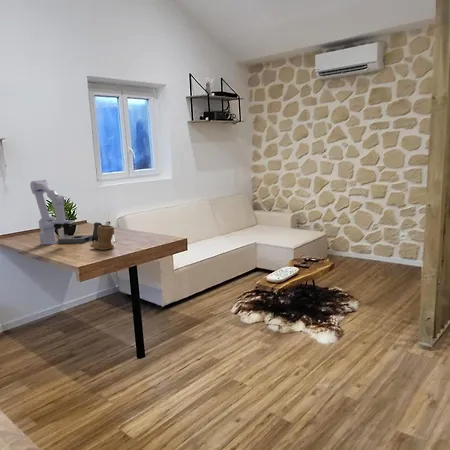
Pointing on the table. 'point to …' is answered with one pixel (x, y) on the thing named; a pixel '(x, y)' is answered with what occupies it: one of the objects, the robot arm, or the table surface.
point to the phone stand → (95, 232)
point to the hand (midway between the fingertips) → (63, 234)
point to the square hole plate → (75, 239)
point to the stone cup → (104, 237)
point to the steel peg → (62, 233)
